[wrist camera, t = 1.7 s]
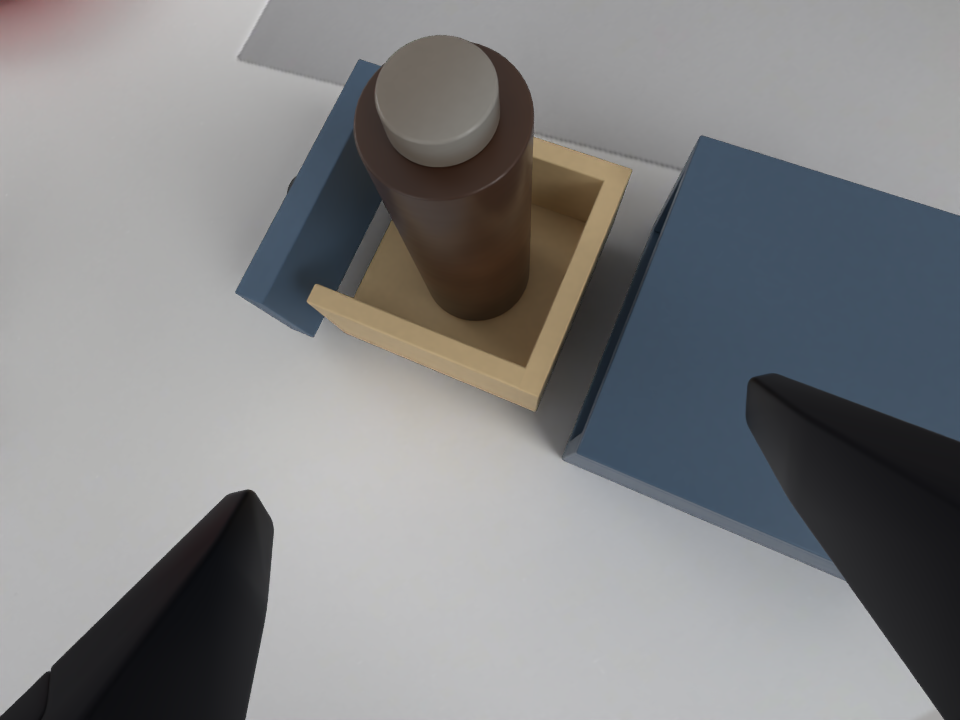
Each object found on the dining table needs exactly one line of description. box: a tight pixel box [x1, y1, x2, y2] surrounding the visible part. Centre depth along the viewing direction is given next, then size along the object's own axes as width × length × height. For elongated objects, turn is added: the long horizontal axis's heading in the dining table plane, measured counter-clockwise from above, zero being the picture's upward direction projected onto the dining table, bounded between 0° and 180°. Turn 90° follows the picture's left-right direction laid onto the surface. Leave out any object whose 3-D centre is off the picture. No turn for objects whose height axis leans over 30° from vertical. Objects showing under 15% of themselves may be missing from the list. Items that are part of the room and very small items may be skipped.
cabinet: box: [562, 135, 960, 581], centre depth 19 cm, size 13×12×7 cm
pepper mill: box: [354, 35, 534, 321], centre depth 17 cm, size 4×4×11 cm
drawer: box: [235, 59, 632, 412], centre depth 22 cm, size 13×10×5 cm
